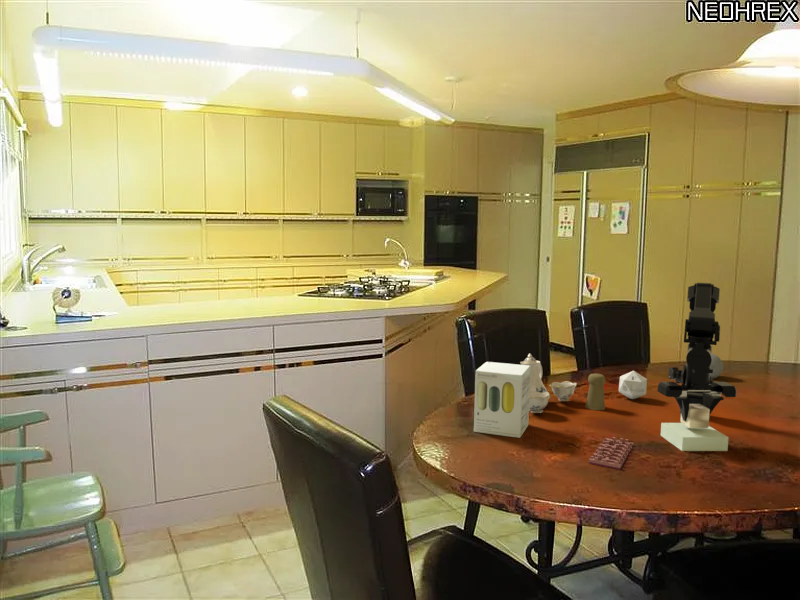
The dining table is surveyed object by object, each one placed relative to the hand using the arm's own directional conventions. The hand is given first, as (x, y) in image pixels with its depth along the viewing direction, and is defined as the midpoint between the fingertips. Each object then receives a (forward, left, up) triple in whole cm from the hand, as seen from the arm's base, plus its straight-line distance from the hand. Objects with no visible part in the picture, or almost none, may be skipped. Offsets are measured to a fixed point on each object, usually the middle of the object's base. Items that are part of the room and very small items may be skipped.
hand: (694, 420), depth 166 cm
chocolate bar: (+25, +8, -7) cm, 27 cm away
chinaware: (+32, -34, -6) cm, 47 cm away
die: (-1, -42, -6) cm, 42 cm away
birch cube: (0, 0, -1) cm, 1 cm away
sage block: (0, 0, -6) cm, 6 cm away
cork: (+15, -32, -6) cm, 36 cm away
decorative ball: (-43, -72, -6) cm, 84 cm away
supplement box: (+49, -12, -6) cm, 51 cm away
